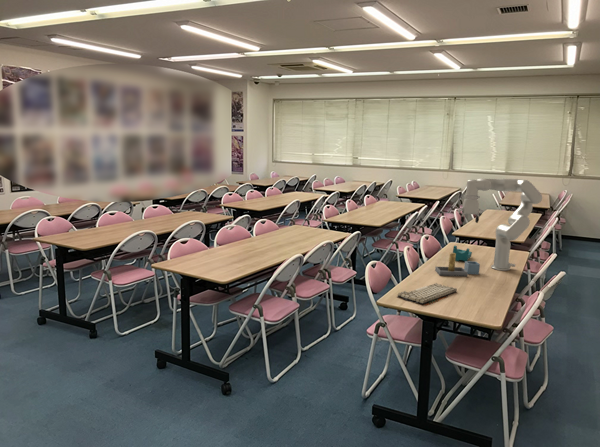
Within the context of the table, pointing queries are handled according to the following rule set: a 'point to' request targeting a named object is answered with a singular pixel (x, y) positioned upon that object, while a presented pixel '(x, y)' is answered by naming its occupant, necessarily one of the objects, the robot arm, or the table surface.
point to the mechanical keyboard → (427, 294)
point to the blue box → (472, 267)
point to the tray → (457, 271)
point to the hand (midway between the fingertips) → (469, 222)
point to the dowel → (451, 261)
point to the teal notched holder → (462, 254)
